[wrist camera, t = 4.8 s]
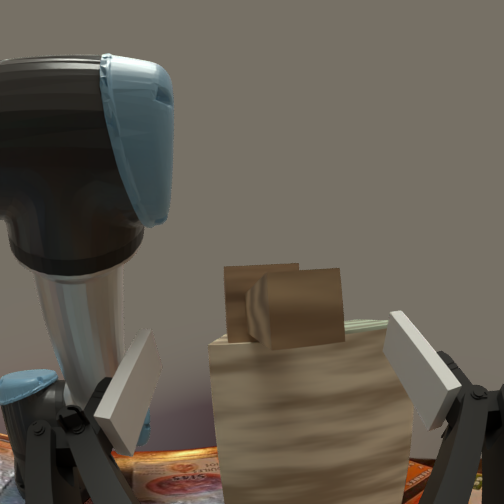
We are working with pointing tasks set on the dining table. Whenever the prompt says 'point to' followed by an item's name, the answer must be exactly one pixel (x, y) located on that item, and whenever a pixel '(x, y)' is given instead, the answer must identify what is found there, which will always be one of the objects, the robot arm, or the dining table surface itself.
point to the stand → (311, 421)
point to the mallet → (283, 305)
